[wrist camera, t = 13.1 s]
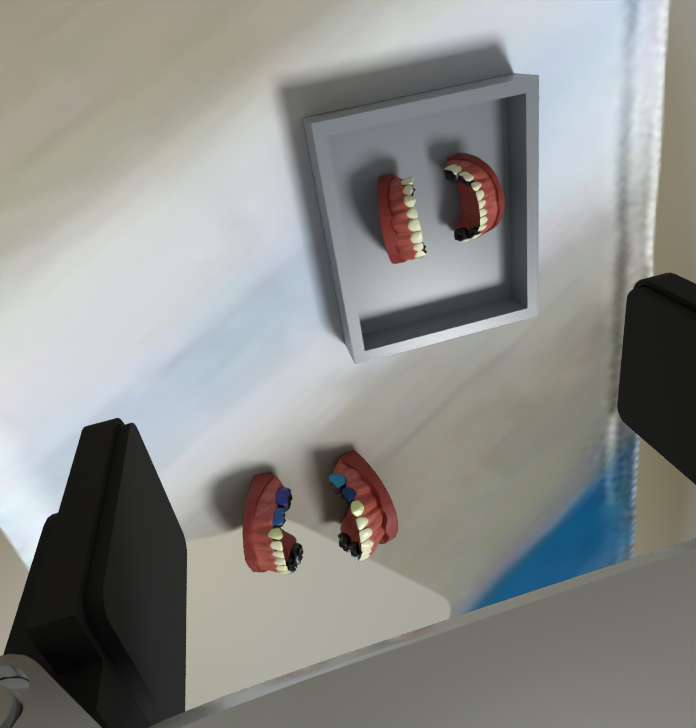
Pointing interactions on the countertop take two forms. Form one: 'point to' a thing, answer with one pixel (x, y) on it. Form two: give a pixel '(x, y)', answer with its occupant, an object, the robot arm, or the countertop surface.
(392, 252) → the denture
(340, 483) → the teeth model
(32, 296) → the countertop surface
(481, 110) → the tray
